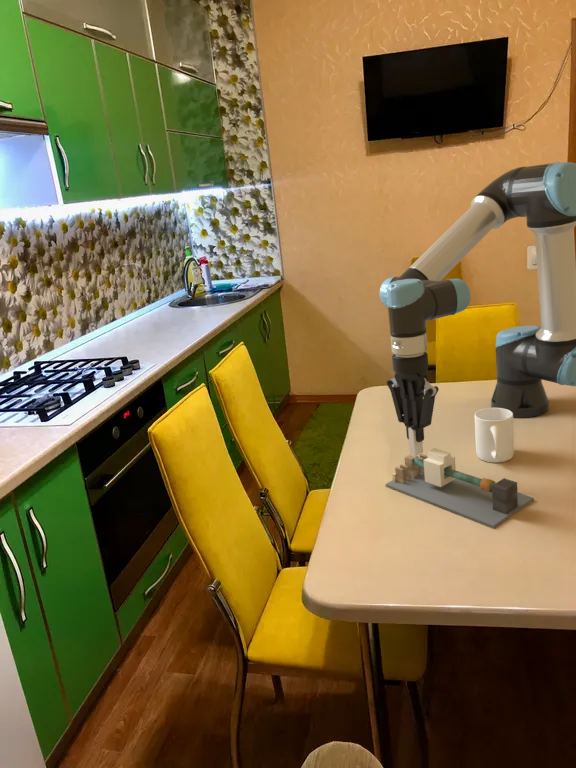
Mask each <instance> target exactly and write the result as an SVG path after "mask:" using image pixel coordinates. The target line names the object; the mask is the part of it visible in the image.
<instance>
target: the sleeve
mask: <svg viewBox="0 0 576 768" xmlns="http://www.w3.org/2000/svg"><path fill="white" fill-rule="evenodd" d="M426 452H427V453H426V456H428V458H426V459H424V460H423V461H424V475H425V482H428V483H431V484H433V485H436V486H439V487H442V486H444V485H446V484H447V483H449V482H451V481H452V480H454V479H456V478H453V477H450V476H447V475H444V468H449V469H453V470H456V467H457V465H456V456H454V455H452V453H451V452H448V451H445V450H442V449H438V448H435V447H433V448H432V449H431V450H428V451H426ZM456 471H457V470H456Z"/></svg>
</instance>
